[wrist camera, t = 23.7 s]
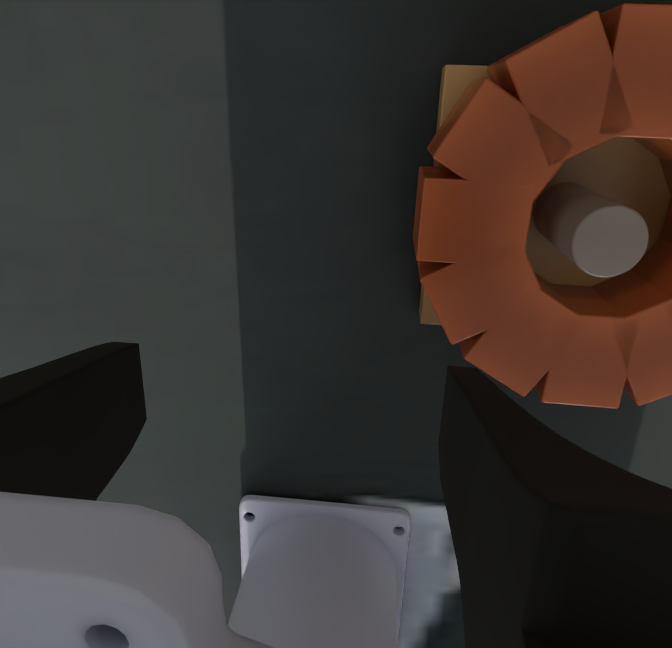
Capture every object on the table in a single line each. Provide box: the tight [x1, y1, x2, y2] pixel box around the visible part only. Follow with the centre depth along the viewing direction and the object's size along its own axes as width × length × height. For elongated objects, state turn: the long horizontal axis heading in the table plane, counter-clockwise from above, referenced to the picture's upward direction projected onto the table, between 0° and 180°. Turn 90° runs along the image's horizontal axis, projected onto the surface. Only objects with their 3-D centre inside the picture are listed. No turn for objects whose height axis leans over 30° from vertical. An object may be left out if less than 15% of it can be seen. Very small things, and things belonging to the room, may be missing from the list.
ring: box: [413, 3, 672, 409], centre depth 18 cm, size 12×12×3 cm
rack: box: [419, 65, 671, 325], centre depth 18 cm, size 9×9×6 cm
